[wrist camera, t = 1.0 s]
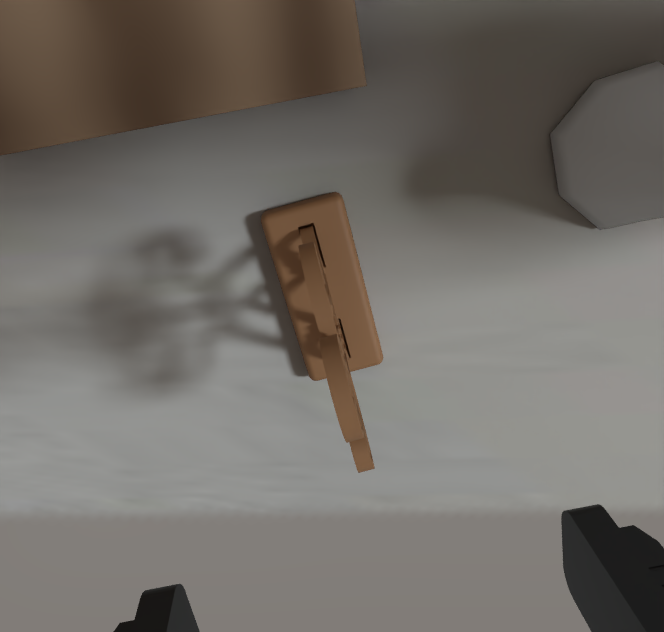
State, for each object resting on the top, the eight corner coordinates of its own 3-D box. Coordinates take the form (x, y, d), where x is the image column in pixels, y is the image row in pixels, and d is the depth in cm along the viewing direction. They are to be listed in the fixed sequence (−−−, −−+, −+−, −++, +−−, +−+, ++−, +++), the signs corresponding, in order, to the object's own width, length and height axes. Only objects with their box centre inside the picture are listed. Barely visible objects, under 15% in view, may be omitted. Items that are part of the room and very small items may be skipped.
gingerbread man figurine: (259, 212, 28) (242, 301, 17) (340, 190, 28) (375, 265, 17) (310, 375, 32) (323, 538, 21) (382, 356, 32) (435, 510, 20)
